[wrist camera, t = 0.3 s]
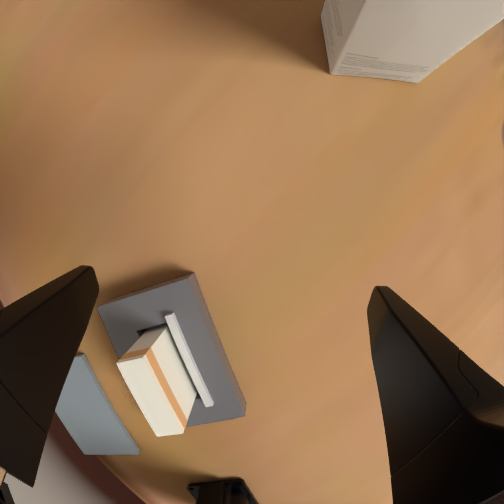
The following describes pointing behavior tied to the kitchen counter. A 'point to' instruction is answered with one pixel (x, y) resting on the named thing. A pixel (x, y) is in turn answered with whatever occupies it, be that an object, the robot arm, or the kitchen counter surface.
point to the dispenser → (180, 342)
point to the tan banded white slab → (159, 380)
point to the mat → (92, 414)
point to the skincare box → (401, 34)
